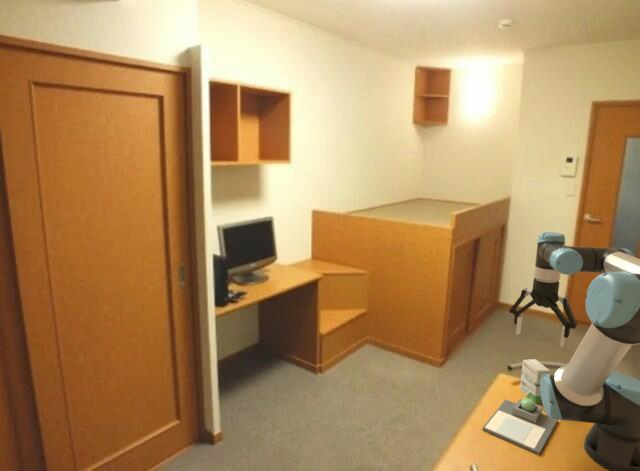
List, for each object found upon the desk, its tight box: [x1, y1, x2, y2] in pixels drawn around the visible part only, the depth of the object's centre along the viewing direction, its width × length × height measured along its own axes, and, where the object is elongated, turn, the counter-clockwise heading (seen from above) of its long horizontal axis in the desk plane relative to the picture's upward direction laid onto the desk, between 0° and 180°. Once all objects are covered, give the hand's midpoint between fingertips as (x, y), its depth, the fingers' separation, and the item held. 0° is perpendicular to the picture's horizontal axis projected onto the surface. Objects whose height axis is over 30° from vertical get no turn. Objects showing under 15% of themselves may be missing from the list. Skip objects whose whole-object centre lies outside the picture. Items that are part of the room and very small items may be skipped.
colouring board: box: [482, 398, 558, 456], centre depth 131 cm, size 16×20×3 cm
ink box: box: [519, 358, 551, 404], centre depth 147 cm, size 9×5×12 cm, turn 8°
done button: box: [521, 397, 537, 413], centre depth 136 cm, size 4×4×3 cm
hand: (539, 339), depth 144 cm, fingers open, 13 cm apart
